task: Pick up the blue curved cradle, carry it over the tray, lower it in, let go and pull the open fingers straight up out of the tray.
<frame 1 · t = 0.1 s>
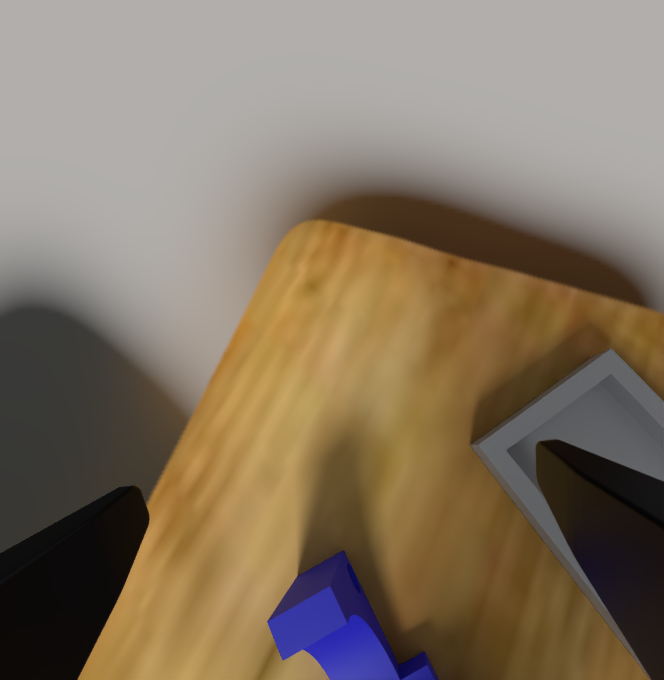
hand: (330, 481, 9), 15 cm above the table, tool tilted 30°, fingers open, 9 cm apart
tray: (647, 535, 20), on the table
blue curved cradle: (386, 668, 20), on the table
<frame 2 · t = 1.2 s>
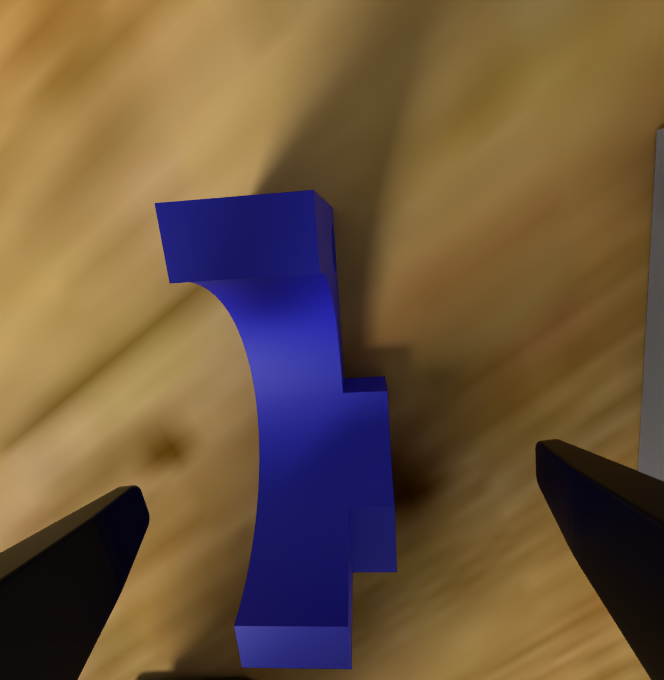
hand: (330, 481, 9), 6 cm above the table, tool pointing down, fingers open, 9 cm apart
blue curved cradle: (324, 375, 15), on the table
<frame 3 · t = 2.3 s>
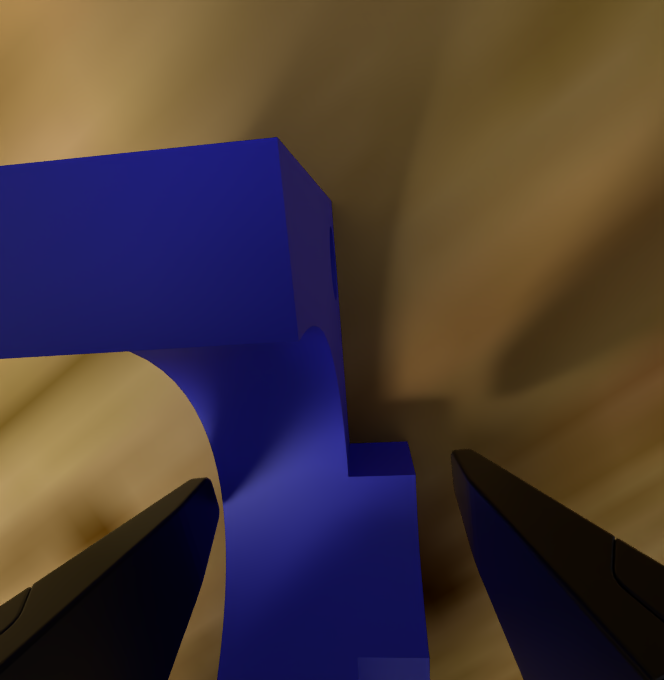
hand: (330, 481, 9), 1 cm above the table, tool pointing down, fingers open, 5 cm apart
blue curved cradle: (322, 438, 10), on the table, touching gripper
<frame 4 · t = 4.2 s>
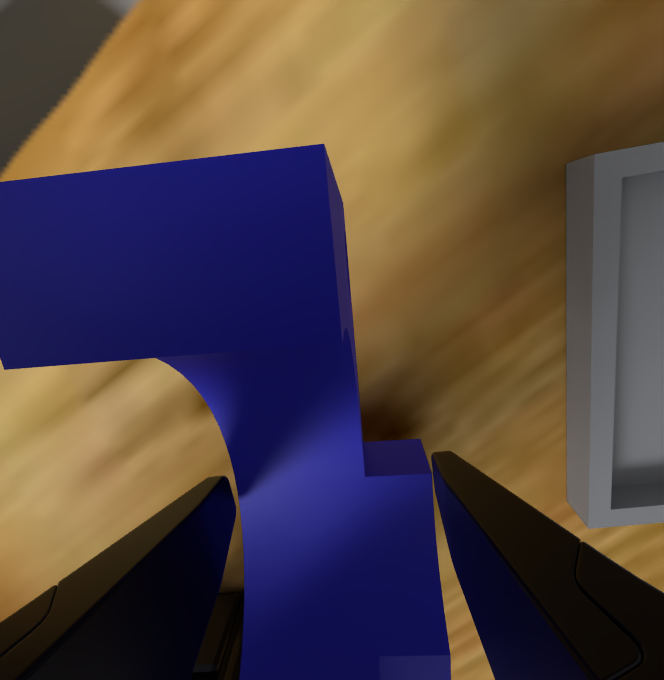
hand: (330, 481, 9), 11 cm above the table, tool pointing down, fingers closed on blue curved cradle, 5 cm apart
blue curved cradle: (335, 439, 10), point 9 cm above the table, touching gripper
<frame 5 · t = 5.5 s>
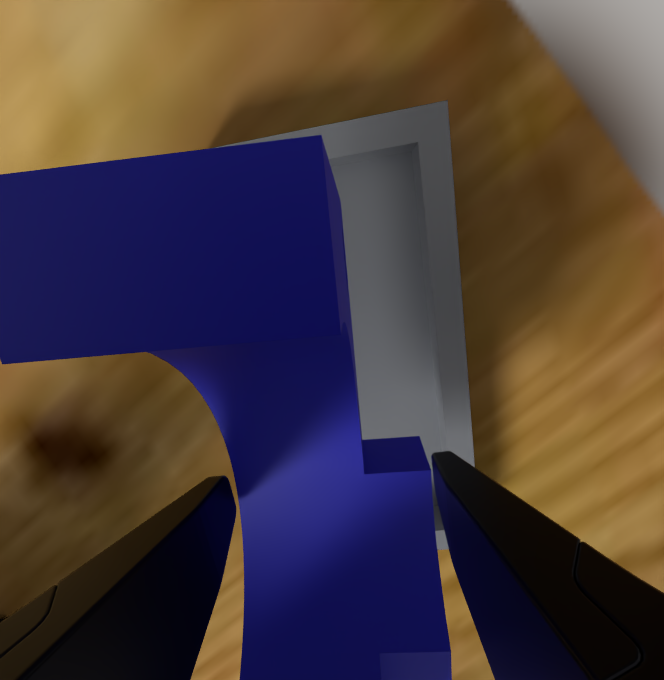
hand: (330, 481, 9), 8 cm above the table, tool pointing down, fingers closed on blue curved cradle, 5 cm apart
tray: (346, 358, 16), on the table
blue curved cradle: (334, 437, 10), point 6 cm above the table, touching gripper
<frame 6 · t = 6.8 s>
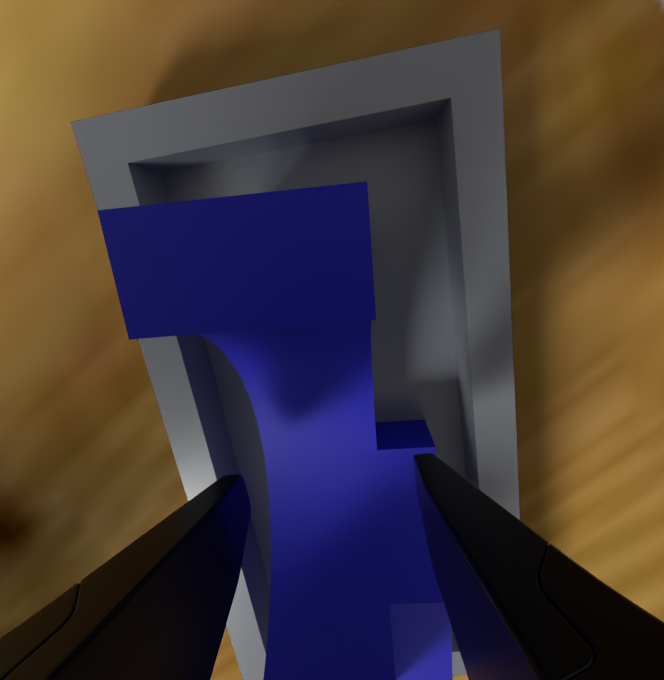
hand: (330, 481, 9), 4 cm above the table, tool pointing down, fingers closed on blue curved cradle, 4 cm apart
tray: (341, 410, 12), on the table
blue curved cradle: (349, 420, 12), resting on tray, touching gripper
when the fingers open (4 cm above the table, at t = 7.0 s): blue curved cradle stays where it is, resting on tray.
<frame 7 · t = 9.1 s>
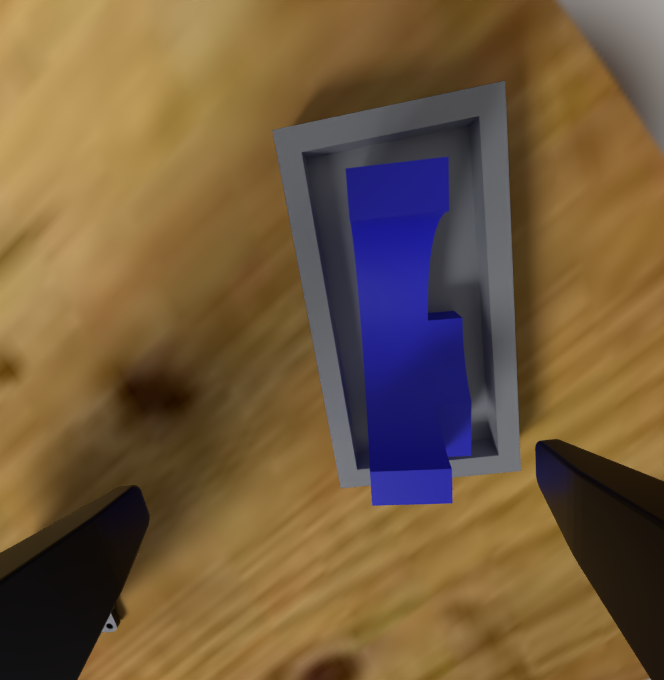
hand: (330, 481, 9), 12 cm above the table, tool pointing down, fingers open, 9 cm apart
tray: (404, 308, 19), on the table
blue curved cradle: (406, 313, 19), resting on tray
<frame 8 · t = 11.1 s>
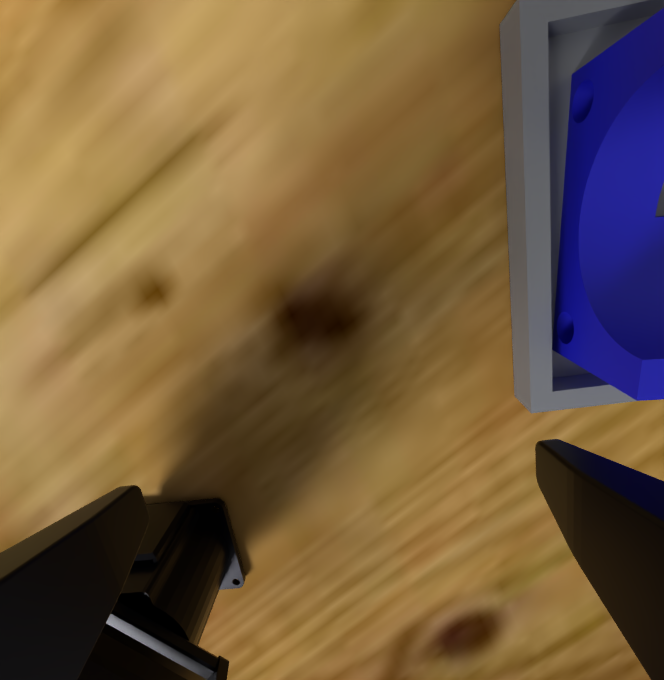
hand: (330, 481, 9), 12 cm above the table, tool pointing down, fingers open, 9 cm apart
tray: (607, 216, 18), on the table
blue curved cradle: (609, 220, 17), resting on tray
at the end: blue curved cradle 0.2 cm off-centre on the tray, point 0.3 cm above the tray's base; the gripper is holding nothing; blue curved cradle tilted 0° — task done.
